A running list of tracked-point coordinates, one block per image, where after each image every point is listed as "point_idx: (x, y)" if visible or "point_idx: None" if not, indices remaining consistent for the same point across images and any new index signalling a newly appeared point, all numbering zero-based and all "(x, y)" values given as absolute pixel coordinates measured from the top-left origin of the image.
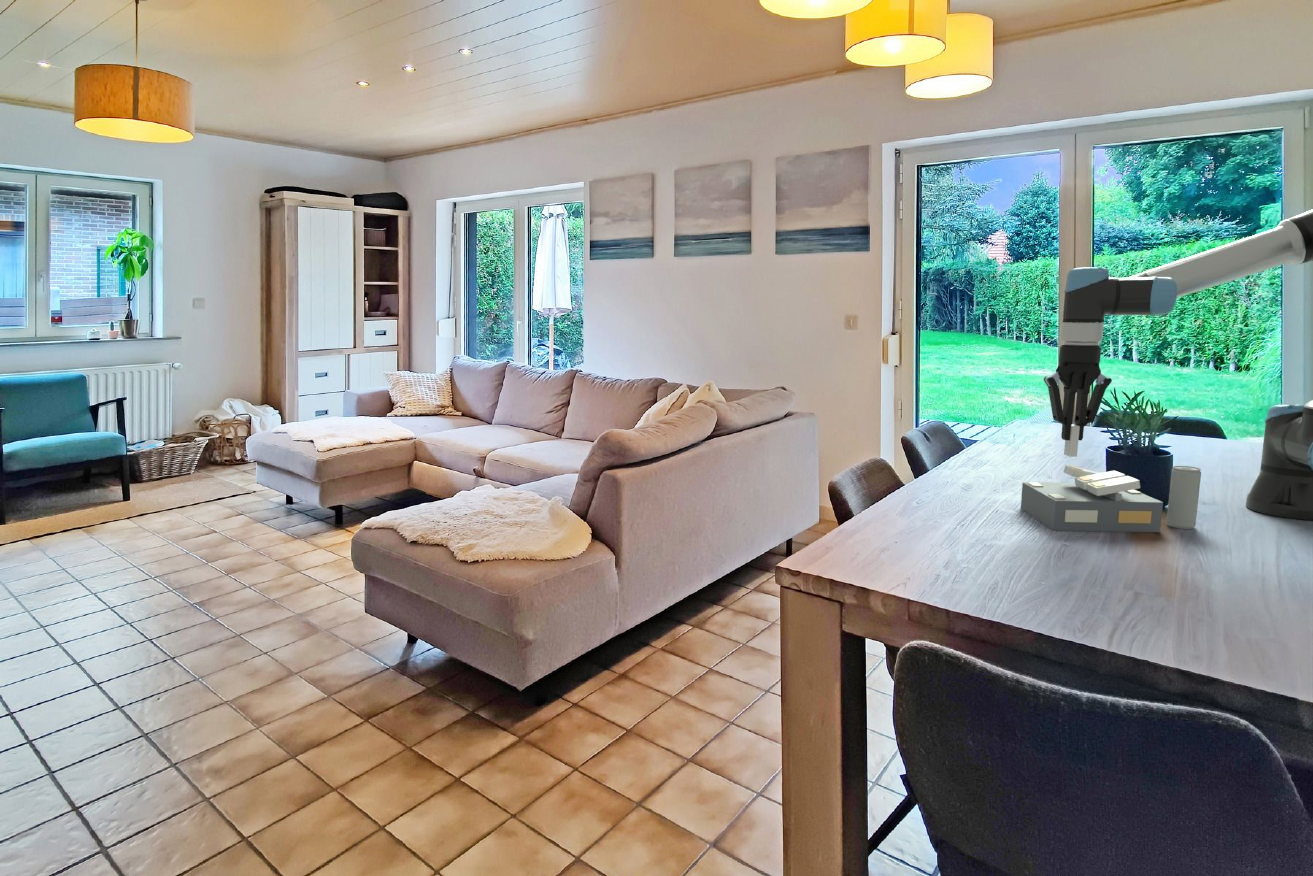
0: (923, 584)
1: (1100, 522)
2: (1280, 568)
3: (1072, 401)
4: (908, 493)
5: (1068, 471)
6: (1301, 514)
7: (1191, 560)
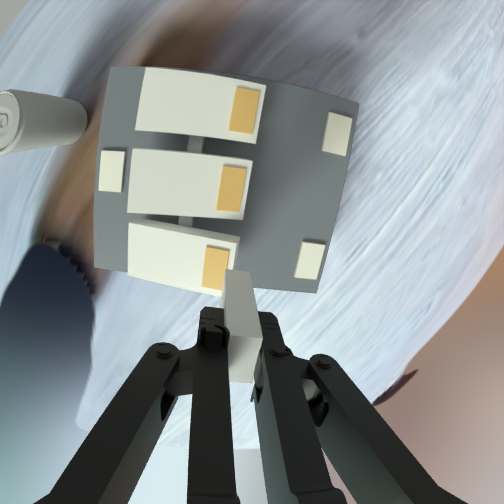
0: None
1: None
2: None
3: (294, 445)
4: (403, 358)
5: (234, 265)
6: None
7: None
